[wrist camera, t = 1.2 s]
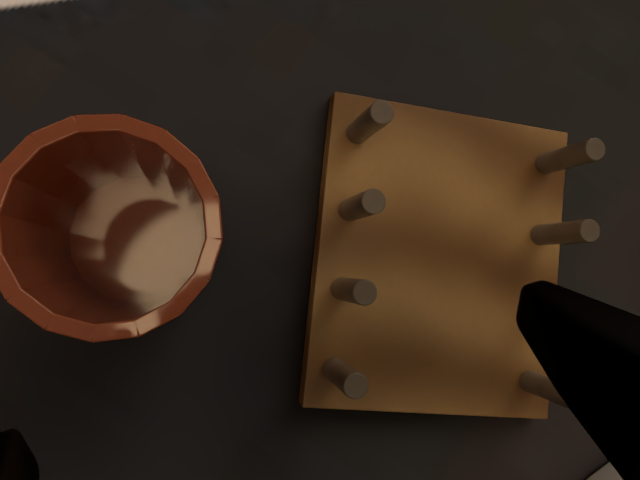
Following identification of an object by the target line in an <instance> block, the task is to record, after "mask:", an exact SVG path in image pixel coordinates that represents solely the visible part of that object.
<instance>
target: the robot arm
mask: <svg viewBox="0 0 640 480" xmlns="http://www.w3.org/2000/svg"><path fill="white" fill-rule="evenodd" d="M516 322H517V326H518V328H519V330H520V332H521V333H522V335H523V337H524V338H525V340H526V342H527V343H528V345H529V347H530V348H531V350H532V352H533V353H534V355H535V357H536V358H537V360H538V361H539V363H540V365H541V366H542V368H543V370H544V371H545V373H546V375H547V376H548V378H549V380H550V381H551V383H552V384H553V386H554V387H555V389H556V391H557V392H558V394H559V395H560V396H561V398H562V399H563V401H564V402H565V403H566V405H567V406H568V408H569V409H570V410H571V411H572V413H573V414H574V415H575V417H576V418H577V419H578V421H579V422H580V423H581V425H582V426H583V427H584V429H585V430H586V431H587V433H588V434H589V435H590V437H591V438H592V439H593V441H594V442H595V443H596V445H597V446H598V447H599V449H600V450H601V451H602V453H603V454H604V455H605V456H606V458H607V459H608V460H609V462H610V463H611V464H612V466H613V467H614V468H615V470H616V471H617V472H618V474H619V475H620V476H621V478H622V479H623V480H640V316H637V315H634V314H632V313H629V312H627V311H624V310H621V309H619V308H616V307H613V306H611V305H608V304H606V303H603V302H600V301H598V300H595V299H593V298H590V297H587V296H585V295H582V294H580V293H577V292H574V291H572V290H569V289H566V288H564V287H561V286H559V285H556V284H553V283H551V282H548V281H545V280H539V281H536V282H532V283H529V284H526V285H524V286H523V287H522V289H521V291H520V296H519V302H518V307H517V313H516ZM0 480H39V468H38V464H37V461H36V458H35V457H34V455H33V453H32V452H31V450H30V448H29V447H28V445H27V443H26V441H25V440H24V438H23V436H22V435H21V433H20V432H19V431H18V430H17V429H9V430H5V431H2V432H0Z"/></svg>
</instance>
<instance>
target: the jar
mask: <svg viewBox="0 0 640 480" xmlns="http://www.w3.org/2000/svg"><path fill="white" fill-rule="evenodd" d="M586 480H623V479H622V478H621V476H620V475H619V474H618V472H617V471H616V470H615V468H614V467H613V466H612V464H611V463H610V462H608V463H607V464H605V465H604V466H603V467H602V468H600V469H599V470H598V471H596V472H595V473H594V474H593V475H591V476H590V477H589V478H587V479H586Z"/></svg>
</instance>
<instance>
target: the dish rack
mask: <svg viewBox="0 0 640 480" xmlns="http://www.w3.org/2000/svg"><path fill="white" fill-rule="evenodd" d="M567 137H568V133H565V132H559V131H554V130H548V129H543V128H537V127H531V126H526V125H520V124H515V123H509V122H503V121H498V120H492V119H487V118H481V117H475V116H470V115H464V114H459V113H453V112H448V111H442V110H436V109H431V108H425V107H420V106H414V105H408V104H403V103H397V102H392V101H386V100H380V99H375V98H369V97H364V96H358V95H352V94H347V93H341V92H334V93H333V95H332V96H331V97H330V99H329V109H328V119H327V129H326V138H325V148H324V158H323V168H322V177H321V187H320V197H319V207H318V217H317V226H316V236H315V246H314V256H313V265H312V275H311V285H310V295H309V305H308V314H307V324H306V334H305V344H304V353H303V363H302V373H301V383H300V392H299V403H300V404H301V406H302V407H303V408H322V409H343V410H364V411H385V412H406V413H427V414H448V415H469V416H490V417H511V418H532V419H547V417H548V403H549V401H551V402H554V403H557V404H559V405H562V406H564V407H567V408H568V406H567V405H566V403H565V402H564V401H563V399H562V398H561V396H560V395H559V394H558V392H557V391H556V389H555V387H554V386H553V384H552V383H551V381H550V380H549V378H548V376H547V375H546V373H545V371H544V370H543V368H542V366H541V365H540V363H539V361H538V360H537V358H536V357H535V355H534V353H533V352H532V350H531V348H530V347H529V345H528V343H527V342H526V340H525V338H524V337H523V335H522V333H521V332H520V330H519V328H518V326H517V322H516V313H517V307H518V302H519V296H520V291H521V289H522V287H523V286H524V285H526V284H529V283H532V282H536V281H539V280H545V281H548V282H551V283H553V284H556V285H557V277H558V263H559V249H560V244H573V243H590V242H594V241H595V240H597V239H598V237H599V235H600V227H599V225H598V223H597V222H596V221H594V220H592V219H583V220H575V221H566V222H561V221H562V207H563V193H564V179H565V169H568V168H571V167H575V166H579V165H583V164H587V163H591V162H595V161H598V160H600V159H602V158H603V156H604V155H605V145H604V143H603V142H602V141H601V140H600V139H598V138H590V139H587V140H584V141H581V142H578V143H575V144H571V145H568V146H567Z"/></svg>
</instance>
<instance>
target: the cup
mask: <svg viewBox="0 0 640 480" xmlns="http://www.w3.org/2000/svg"><path fill="white" fill-rule="evenodd" d="M222 239H223V229H222V218H221V206H220V198H219V195H218V193H217V191H216V189H215V187H214V185H213V183H212V181H211V179H210V177H209V175H208V174H207V172H206V170H205V168H204V166H203V164H202V162H201V160H200V159H199V158H198V156H196V155H195V154H194V153H193V152H192V151H191V150H189V149H188V148H187V147H186V146H185V145H183V144H182V143H181V142H180V141H179V140H178V139H176V138H175V137H174V136H173V135H172V134H171V133H169V132H168V131H167V130H164V129H163V128H161V127H158V126H155V125H152V124H150V123H147V122H144V121H141V120H138V119H135V118H132V117H129V116H127V115H124V114H122V115H121V114H93V115H75V116H70V117H68V118H65V119H63V120H61V121H58V122H56V123H54V124H51V125H49V126H46V127H44V128H42V129H39V130H37V131H35V132H32V133H31V134H30V135H28V136H27V137H26V138H25V139H24V140H23V141H22V142H21V143H20V144H19V145H18V146H17V147H16V148H15V149H14V150H13V151H12V152H11V153H10V154H9V155H8V156H7V157H6V158H5V159H4V160H3V161H2V162H1V163H0V292H1V294H2V295H3V297H4V299H5V300H7V302H8V303H9V304H10V305H11V306H13V307H14V308H15V309H17V310H18V311H19V312H21V313H22V314H23V315H25V316H26V317H27V318H29V319H30V320H31V321H33V322H34V323H35V324H37V325H38V326H39V327H41V328H42V329H44V330H46V331H48V332H52V333H56V334H60V335H64V336H67V337H71V338H75V339H79V340H83V341H87V342H94V343H95V342H104V341H112V340H121V339H129V338H137V337H139V336H143V335H145V334H147V333H149V332H151V331H152V330H154V329H156V328H158V327H160V326H162V325H164V324H166V323H167V322H169V321H171V320H173V319H175V318H177V317H179V316H180V314H183V312H184V311H185V310H186V309H187V308H188V306H189V305H190V304H191V303H192V302H193V301H194V299H195V298H196V297H197V296H198V295H199V293H200V292H201V291H202V290H203V289H204V288H205V286H206V285H207V284H208V283H209V280H210V279H211V277H212V273H213V270H214V267H215V264H216V261H217V258H218V255H219V252H220V249H221V246H222V242H223V240H222Z"/></svg>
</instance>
